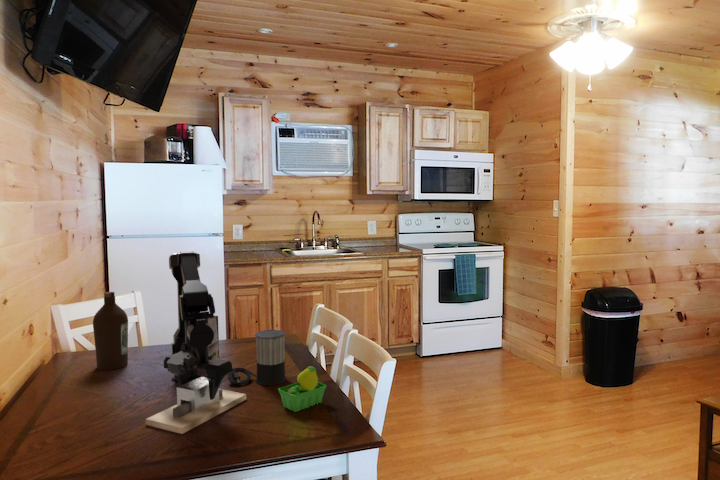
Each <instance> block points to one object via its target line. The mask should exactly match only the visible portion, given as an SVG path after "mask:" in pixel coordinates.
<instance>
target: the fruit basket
mask: <svg viewBox="0 0 720 480" xmlns="http://www.w3.org/2000/svg"><path fill="white" fill-rule="evenodd" d="M296 381H297V382H295V383H292V384H288V385H285V386H282V387H278V388H277V390H278V393H279V395H280V398H281V402H282V404H283V408H286V409H288V410H289V411H292V412H294V413H296V412H299V411H302V409H303V410H306V409H308V408H311V407H310V406H312V407H314V406H316V405H315V404H317V405H319V404H318V403H320V404H322V400H323V397H324V393H325V391H326V388H327V385H326V384H324V383H323V382H319V378H318V375H317V369H316V367H314V366H311V365H310V366H307V368H305V369H304V370H303V371H301V372H300V373H299V374H298V375H297V379H296ZM313 405H314V406H313ZM305 408H306V409H305Z"/></svg>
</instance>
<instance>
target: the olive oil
mask: <svg viewBox="0 0 720 480" xmlns="http://www.w3.org/2000/svg"><path fill="white" fill-rule="evenodd" d="M103 303H104V304H103V305H102V307H100V309H99V310H97V312H95V315H94V317H93V320H92V327H93V329H92V330H93V338H94V339H93V340H94V346H95V347H94V348H95V356H96V357H95V358H96V368H97V370H101V371H111V370H112V371H113V370H118V369H122V368H124V367H127V366H128V364H129V361H128V360H129V359H128V357H129V356H128V355H129V354H128V352H129V351H128V347H129V345H128V344H129V343H128V342H129V340H128V339H129V318H128V315H127V313H126V312H125V310H123V308H121V307H120V306H119V305H118V304H117V303H116V296H115V291H106V292H104V293H103Z"/></svg>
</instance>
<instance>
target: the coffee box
mask: <svg viewBox="0 0 720 480" xmlns="http://www.w3.org/2000/svg"><path fill="white" fill-rule="evenodd" d="M208 324H209V326H210V327H211V328H212V330H213V332H214V338H213V341H212V344H210V345H208V349H209V355H212V359H211V360H209V362H214V361H216V360H219V359H220V340H219V339H220V338H219V334H220V333H219V316H218V315H214V318H208Z"/></svg>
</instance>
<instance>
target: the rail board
mask: <svg viewBox="0 0 720 480" xmlns="http://www.w3.org/2000/svg"><path fill="white" fill-rule="evenodd" d="M246 400H247V394H246V393H242V392H237V391H233V390H227V389H223V388H220V387H219V402H218V403H216V404H214V405H212V406H210V407H208V408H206V409H204V410H202V411H200V412H198V413H196V414H193V413H192V412H191V402H190V401H188V402H186V403H184V404H182V405H179V406H177V404H174V405H172V406H170V407H169V408H167V409H164V410H162V411H160V412H158V413H155V414H153V415H151V416H149V417H146V418H145V426H149V427H152V428H157V429H161V430H164V431H169V432H173V433H177V434H181V435H183V434H185V433H187V432H188V431H190V430H193V429H194V428H196V427H198V426H200V425H202V424H203V423H205V422H207V421H209V420H211V419H213V418H214V417H216V416H218V415H220V414H222V413H224V412H226V411H227V410H230V409H231V408H233V407H235V406H237V405H238V404H240V403H242V402H244V401H246Z"/></svg>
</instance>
